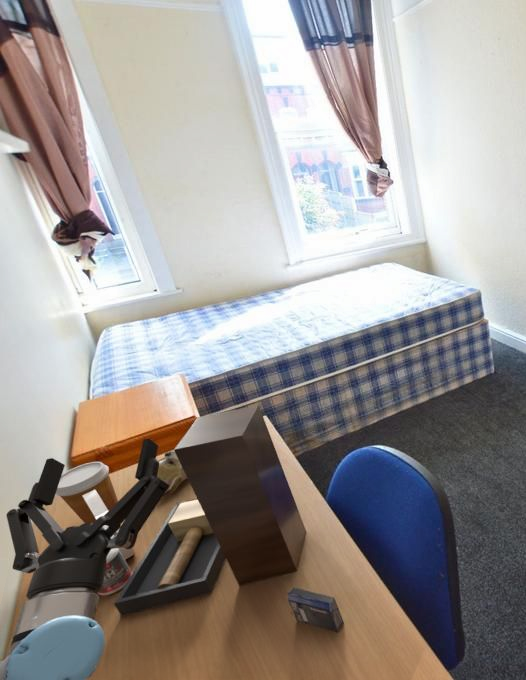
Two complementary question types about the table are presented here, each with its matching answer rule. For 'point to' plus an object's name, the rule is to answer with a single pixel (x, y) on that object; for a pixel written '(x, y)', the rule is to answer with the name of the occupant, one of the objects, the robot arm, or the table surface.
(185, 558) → the mallet
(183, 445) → the stand
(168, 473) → the ceramic sculpture
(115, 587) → the pill bottle
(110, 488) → the disposable coffee cup
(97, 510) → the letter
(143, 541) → the table surface
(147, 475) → the robot arm
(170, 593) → the tray
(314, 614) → the mini dv tape
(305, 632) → the table surface
